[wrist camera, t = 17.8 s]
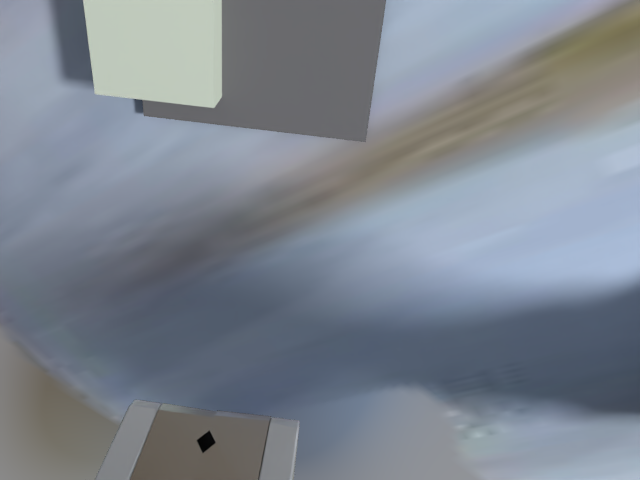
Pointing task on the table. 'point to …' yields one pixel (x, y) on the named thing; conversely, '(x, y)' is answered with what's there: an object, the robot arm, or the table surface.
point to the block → (156, 49)
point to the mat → (293, 68)
